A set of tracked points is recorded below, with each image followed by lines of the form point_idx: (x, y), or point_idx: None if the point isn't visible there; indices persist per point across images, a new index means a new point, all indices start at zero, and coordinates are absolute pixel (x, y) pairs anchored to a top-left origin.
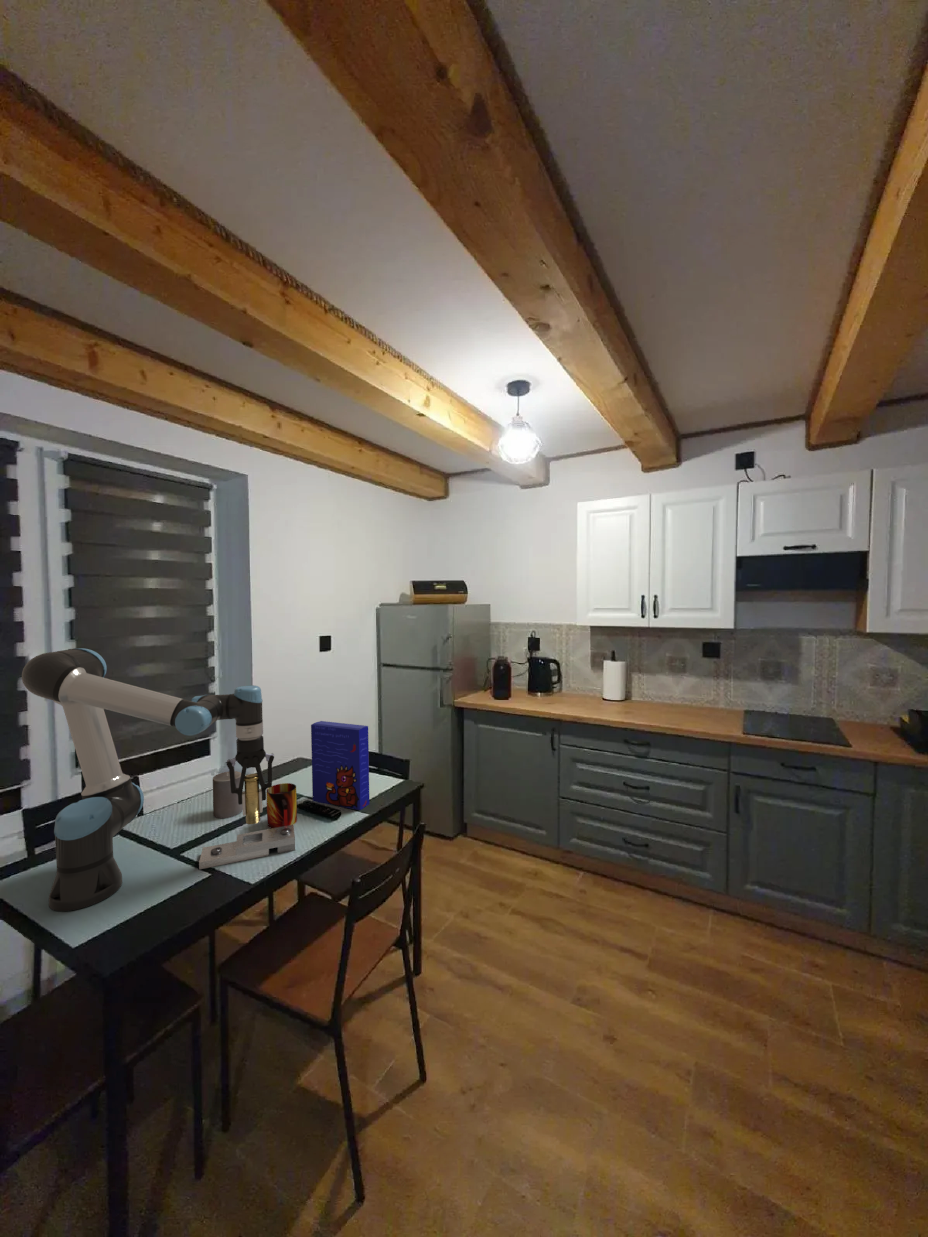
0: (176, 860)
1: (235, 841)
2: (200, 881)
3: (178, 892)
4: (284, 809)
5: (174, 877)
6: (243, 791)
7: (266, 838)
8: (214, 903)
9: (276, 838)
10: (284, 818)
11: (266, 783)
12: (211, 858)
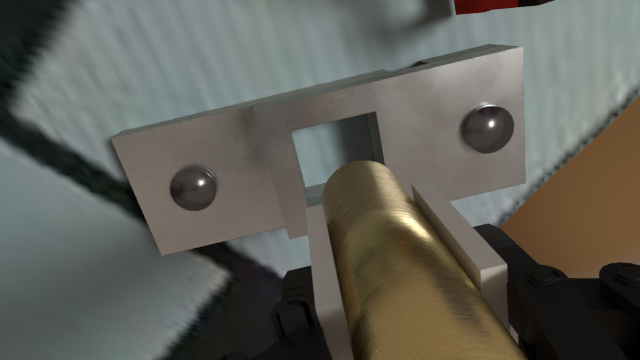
0: (30, 163)
1: (246, 106)
2: (210, 306)
3: (168, 348)
4: (522, 6)
5: (103, 275)
6: (327, 313)
7: (404, 174)
8: None
9: (448, 180)
10: (489, 9)
11: (600, 321)
12: (198, 234)
